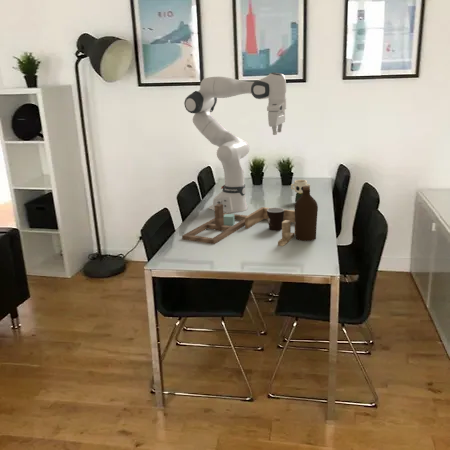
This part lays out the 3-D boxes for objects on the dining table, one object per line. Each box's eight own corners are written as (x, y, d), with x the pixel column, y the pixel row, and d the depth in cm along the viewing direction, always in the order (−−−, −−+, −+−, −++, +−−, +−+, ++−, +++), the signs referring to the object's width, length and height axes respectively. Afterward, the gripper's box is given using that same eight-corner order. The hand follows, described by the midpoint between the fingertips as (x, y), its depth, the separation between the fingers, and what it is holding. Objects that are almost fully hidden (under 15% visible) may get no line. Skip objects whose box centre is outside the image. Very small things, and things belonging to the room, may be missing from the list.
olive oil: (311, 243, 234) (311, 190, 226) (290, 240, 240) (290, 187, 232) (321, 237, 242) (322, 185, 234) (300, 233, 248) (301, 183, 240)
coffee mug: (283, 232, 251) (283, 212, 248) (266, 231, 253) (265, 212, 250) (285, 225, 262) (285, 206, 259) (268, 224, 263) (268, 205, 260)
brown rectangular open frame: (182, 240, 245) (180, 214, 241) (224, 217, 279) (223, 193, 275) (214, 245, 237) (213, 218, 233) (253, 220, 271) (253, 196, 267)
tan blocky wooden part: (277, 246, 232) (277, 225, 229) (289, 237, 244) (289, 217, 240) (283, 247, 231) (283, 226, 228) (294, 237, 242) (294, 217, 239)
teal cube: (223, 226, 264) (223, 216, 263) (225, 223, 269) (224, 214, 268) (233, 226, 264) (233, 216, 262) (234, 223, 268) (234, 214, 267)
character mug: (290, 204, 299) (290, 182, 295) (291, 201, 306) (291, 179, 302) (309, 204, 297) (310, 182, 293) (310, 201, 304) (310, 179, 300)
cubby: (245, 228, 258) (244, 217, 257) (262, 217, 275) (261, 207, 273) (297, 235, 245) (297, 223, 243) (312, 223, 262) (312, 212, 260)
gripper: (276, 104, 270) (276, 130, 274) (265, 107, 252) (266, 136, 256) (288, 104, 268) (287, 130, 272) (278, 107, 250) (278, 136, 254)
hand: (277, 133), depth 264 cm, fingers open, 8 cm apart
